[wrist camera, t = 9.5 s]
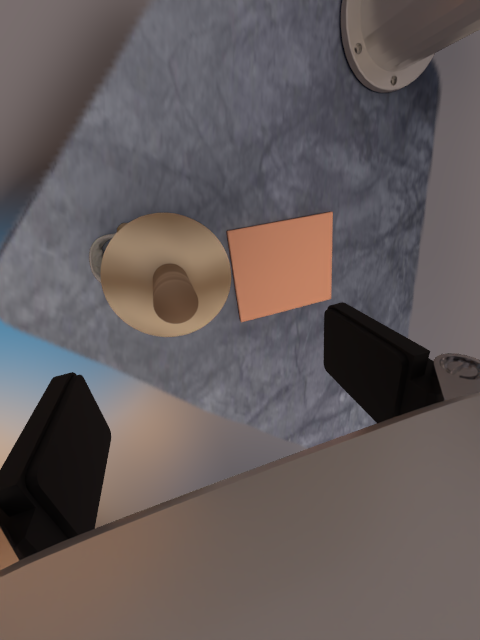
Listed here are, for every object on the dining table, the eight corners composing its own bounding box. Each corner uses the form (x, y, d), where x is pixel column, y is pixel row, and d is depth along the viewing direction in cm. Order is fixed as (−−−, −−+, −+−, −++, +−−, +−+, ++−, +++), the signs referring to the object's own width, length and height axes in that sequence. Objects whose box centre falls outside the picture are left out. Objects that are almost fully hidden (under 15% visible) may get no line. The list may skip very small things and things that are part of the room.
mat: (226, 231, 31) (227, 231, 31) (329, 211, 34) (332, 211, 34) (240, 320, 37) (241, 322, 36) (328, 297, 40) (331, 298, 39)
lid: (84, 218, 20) (56, 225, 14) (222, 207, 23) (249, 209, 17) (120, 342, 25) (111, 387, 19) (232, 321, 28) (255, 355, 22)
